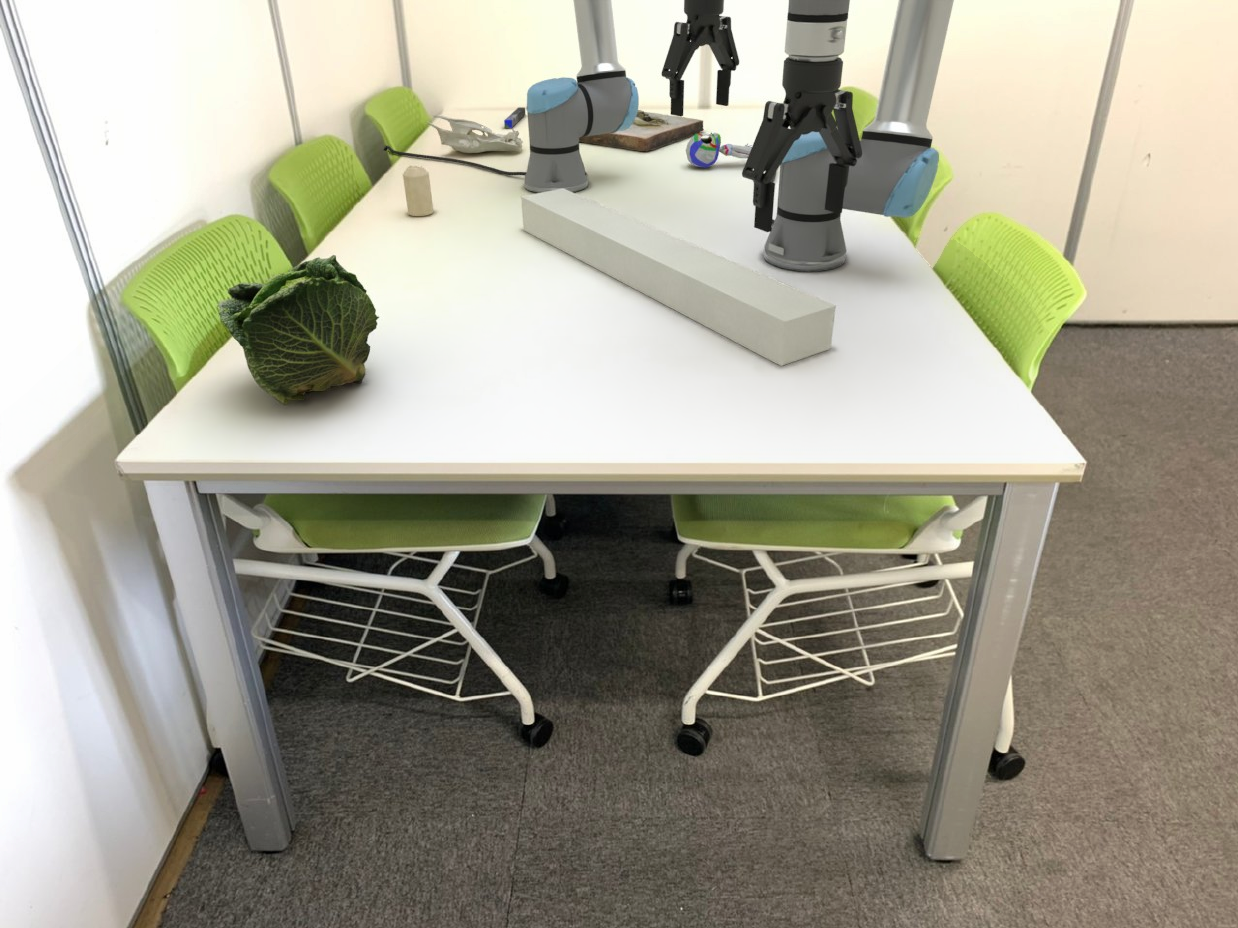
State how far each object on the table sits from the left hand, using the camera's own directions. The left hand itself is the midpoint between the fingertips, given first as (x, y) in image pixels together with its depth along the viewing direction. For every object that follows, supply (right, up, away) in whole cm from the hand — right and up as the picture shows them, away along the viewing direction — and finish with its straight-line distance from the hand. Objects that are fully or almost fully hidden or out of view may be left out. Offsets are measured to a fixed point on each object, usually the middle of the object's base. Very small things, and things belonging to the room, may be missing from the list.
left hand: (700, 110), depth 180 cm
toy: (+16, +5, +49) cm, 52 cm away
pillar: (-48, +35, +98) cm, 115 cm away
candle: (-60, -16, +18) cm, 65 cm away
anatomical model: (-55, +15, +66) cm, 87 cm away
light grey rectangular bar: (-10, -38, -19) cm, 44 cm away
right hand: (+9, -37, -53) cm, 66 cm away
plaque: (-12, +24, +79) cm, 84 cm away
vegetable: (-60, -60, -52) cm, 99 cm away
